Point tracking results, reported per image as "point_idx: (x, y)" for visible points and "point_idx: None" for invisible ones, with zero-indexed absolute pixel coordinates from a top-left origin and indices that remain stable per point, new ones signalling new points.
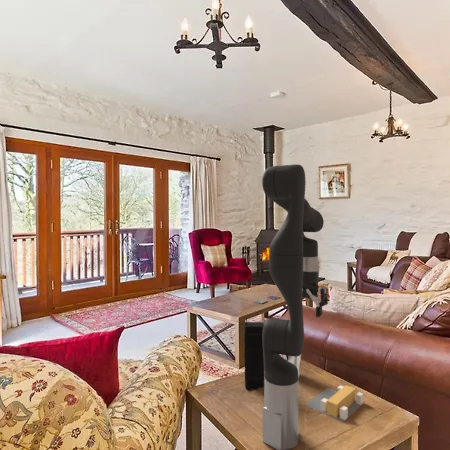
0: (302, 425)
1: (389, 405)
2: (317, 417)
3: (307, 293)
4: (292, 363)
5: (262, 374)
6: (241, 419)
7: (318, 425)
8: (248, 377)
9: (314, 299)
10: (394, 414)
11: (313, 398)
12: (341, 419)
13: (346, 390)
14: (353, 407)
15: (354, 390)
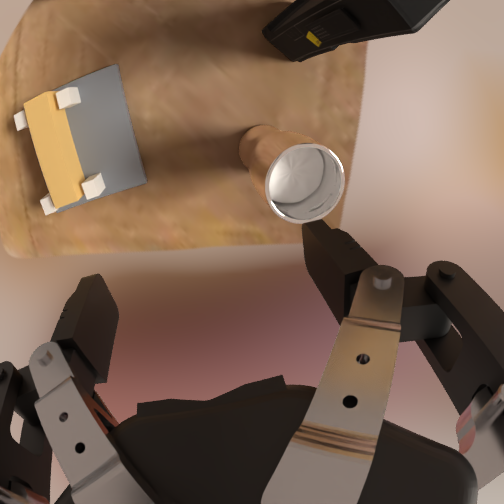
0: (74, 20)
1: (42, 252)
2: (73, 69)
3: (183, 467)
4: (256, 141)
5: (279, 27)
6: None
7: (54, 53)
8: (305, 3)
9: (41, 397)
10: (17, 233)
11: (125, 106)
12: None
13: (57, 179)
14: None
15: (54, 201)
